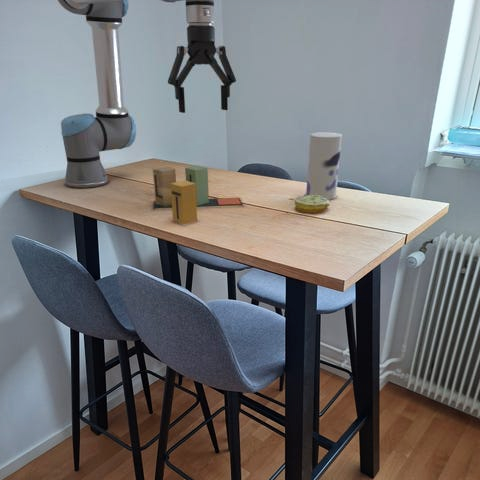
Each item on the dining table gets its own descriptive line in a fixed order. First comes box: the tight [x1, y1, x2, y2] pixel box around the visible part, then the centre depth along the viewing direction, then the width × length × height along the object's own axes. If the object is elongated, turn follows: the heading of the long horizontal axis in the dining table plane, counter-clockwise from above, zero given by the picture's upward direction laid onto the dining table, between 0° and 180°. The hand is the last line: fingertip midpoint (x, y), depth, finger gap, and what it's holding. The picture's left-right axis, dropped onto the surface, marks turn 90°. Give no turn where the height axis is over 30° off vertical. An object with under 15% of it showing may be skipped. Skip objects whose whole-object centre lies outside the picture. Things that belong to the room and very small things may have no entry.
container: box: [305, 131, 343, 201], centre depth 154 cm, size 10×10×20 cm
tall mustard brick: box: [170, 179, 198, 225], centre depth 133 cm, size 5×5×11 cm
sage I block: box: [184, 165, 210, 206], centre depth 148 cm, size 5×5×11 cm
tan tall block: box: [152, 165, 177, 207], centre depth 147 cm, size 5×5×11 cm
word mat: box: [153, 197, 243, 210], centre depth 151 cm, size 28×9×1 cm, turn 97°
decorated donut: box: [294, 194, 331, 214], centre depth 146 cm, size 10×11×4 cm
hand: (203, 111), depth 137 cm, fingers open, 13 cm apart
